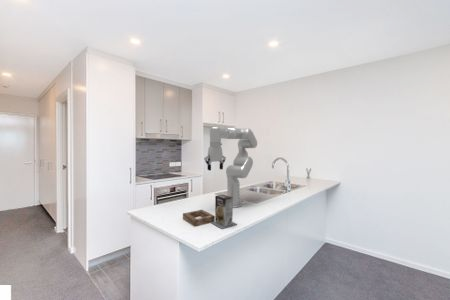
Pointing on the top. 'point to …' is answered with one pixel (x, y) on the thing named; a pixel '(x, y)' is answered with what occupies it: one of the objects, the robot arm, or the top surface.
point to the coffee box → (223, 210)
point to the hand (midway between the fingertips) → (215, 169)
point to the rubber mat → (222, 225)
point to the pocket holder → (196, 222)
